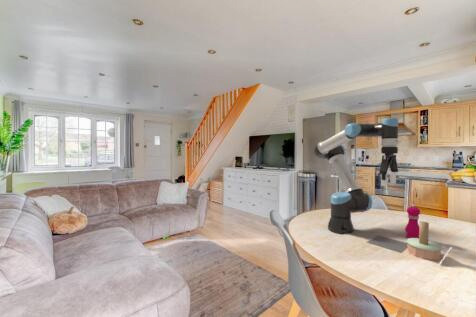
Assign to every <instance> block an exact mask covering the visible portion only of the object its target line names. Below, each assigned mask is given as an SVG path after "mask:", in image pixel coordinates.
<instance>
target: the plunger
mask: <svg viewBox="0 0 476 317" xmlns="http://www.w3.org/2000/svg"><path fill="white" fill-rule="evenodd" d="M429 224H430V223H429V222H427V221H419V224H418V225H419V238H406V243H408V244H409V245H411V246H413V247H415V248H419V249H422V250H427V251H440V250H441V251H442V248H443V247H442V245H441V244H439V243H437V242H435V241H432V240H429Z"/></svg>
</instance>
